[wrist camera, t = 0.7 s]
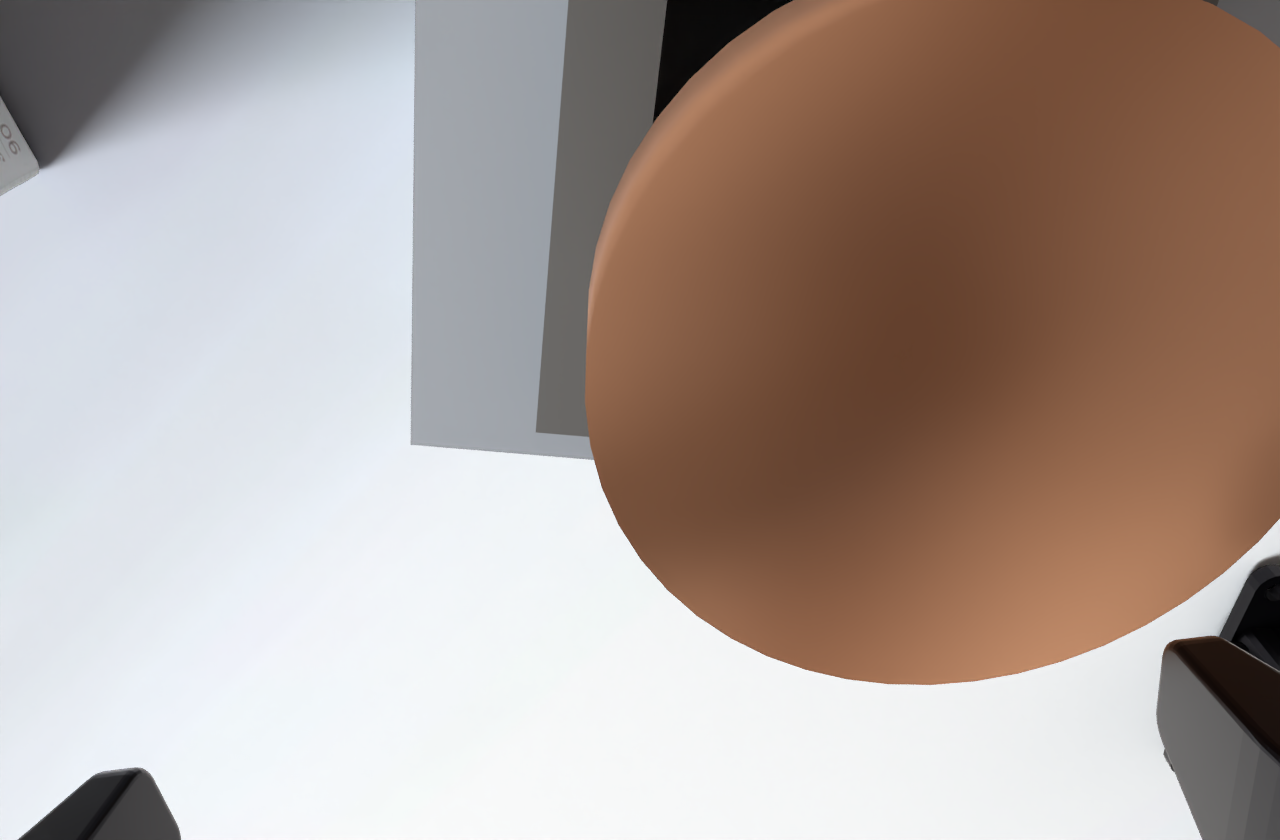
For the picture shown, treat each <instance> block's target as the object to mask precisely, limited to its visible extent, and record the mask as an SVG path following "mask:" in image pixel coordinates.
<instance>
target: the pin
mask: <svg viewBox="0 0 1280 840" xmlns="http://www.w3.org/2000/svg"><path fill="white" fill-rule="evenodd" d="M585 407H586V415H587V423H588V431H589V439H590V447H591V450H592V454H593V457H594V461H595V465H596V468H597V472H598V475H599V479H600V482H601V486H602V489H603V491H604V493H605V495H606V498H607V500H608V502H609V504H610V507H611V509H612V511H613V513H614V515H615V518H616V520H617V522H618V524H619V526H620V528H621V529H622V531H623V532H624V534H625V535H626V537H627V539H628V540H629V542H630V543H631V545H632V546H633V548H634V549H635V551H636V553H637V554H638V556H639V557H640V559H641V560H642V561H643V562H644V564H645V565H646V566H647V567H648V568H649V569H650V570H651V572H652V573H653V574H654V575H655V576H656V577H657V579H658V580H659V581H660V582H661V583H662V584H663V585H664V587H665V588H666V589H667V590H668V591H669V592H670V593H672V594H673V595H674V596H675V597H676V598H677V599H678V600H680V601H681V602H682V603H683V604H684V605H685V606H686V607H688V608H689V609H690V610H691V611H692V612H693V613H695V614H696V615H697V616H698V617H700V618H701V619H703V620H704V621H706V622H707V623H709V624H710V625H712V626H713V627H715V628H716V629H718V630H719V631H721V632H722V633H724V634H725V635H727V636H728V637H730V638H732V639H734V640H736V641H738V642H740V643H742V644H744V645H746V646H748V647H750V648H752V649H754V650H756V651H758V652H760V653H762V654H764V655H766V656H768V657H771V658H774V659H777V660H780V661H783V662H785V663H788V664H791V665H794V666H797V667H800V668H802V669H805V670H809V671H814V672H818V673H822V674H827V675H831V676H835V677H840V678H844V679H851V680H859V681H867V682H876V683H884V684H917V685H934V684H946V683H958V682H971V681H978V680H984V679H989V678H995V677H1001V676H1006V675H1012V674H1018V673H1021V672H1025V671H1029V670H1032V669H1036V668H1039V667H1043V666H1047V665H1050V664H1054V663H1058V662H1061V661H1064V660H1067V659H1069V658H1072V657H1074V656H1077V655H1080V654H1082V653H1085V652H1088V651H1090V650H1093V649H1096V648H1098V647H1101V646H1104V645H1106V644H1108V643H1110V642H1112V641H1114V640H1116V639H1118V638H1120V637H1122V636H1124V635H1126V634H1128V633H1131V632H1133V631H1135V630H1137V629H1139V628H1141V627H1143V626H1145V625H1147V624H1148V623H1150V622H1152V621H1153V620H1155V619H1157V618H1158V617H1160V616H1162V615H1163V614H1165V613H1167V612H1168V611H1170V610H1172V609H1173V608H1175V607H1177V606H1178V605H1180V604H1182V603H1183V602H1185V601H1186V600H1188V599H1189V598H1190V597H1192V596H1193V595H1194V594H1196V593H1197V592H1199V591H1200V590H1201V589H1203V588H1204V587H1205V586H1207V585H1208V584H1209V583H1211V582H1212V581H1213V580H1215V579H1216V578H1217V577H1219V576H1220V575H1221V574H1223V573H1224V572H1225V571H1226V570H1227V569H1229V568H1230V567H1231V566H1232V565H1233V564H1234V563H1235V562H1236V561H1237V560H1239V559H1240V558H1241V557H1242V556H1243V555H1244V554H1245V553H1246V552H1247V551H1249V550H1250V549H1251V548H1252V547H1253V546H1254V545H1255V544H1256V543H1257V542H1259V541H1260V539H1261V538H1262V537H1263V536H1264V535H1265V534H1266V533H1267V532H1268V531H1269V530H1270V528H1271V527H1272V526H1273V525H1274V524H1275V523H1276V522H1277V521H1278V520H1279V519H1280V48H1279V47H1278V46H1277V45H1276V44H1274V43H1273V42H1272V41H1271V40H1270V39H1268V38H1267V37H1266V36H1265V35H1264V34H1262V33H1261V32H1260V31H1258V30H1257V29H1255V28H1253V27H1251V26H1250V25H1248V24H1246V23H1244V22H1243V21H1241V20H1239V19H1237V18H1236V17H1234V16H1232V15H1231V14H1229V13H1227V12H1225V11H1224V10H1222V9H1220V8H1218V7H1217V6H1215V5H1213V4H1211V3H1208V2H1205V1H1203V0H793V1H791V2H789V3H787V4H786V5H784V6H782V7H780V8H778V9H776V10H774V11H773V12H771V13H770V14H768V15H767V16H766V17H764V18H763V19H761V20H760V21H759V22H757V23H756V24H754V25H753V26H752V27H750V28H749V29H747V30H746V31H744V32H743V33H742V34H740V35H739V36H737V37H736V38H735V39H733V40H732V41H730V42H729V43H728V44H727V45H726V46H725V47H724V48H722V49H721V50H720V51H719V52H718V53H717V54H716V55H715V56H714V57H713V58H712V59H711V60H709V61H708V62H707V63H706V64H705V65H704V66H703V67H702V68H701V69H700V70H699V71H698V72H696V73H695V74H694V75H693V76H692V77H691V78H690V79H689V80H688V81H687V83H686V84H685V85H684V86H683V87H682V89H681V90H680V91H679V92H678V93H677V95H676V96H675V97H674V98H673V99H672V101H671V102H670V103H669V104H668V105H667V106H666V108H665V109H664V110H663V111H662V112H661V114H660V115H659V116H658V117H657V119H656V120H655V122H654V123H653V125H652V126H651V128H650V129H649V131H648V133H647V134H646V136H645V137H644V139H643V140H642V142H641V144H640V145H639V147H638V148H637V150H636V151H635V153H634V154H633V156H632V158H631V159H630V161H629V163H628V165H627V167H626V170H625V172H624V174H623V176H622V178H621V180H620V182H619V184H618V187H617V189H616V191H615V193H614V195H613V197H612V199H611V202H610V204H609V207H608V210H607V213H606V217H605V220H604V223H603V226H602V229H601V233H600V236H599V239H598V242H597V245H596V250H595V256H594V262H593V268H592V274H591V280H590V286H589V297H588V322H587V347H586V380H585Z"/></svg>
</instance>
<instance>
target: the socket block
mask: <svg viewBox="0 0 1280 840" xmlns="http://www.w3.org/2000/svg"><path fill="white" fill-rule="evenodd" d="M1203 1H1205V2H1208V3H1211V4H1213V5H1215V6H1217V7H1218V8H1220V9H1222V10H1224V11H1225V12H1227V13H1229V14H1231V15H1232V16H1234V17H1236V18H1237V19H1239V20H1241V21H1243V22H1244V23H1246V24H1248V25H1250V26H1251V27H1253V28H1255V29H1257V30H1258V31H1260V32H1261V33H1262V34H1264V35H1265V36H1266V37H1267V38H1268V39H1270V40H1271V41H1272V42H1273V43H1274V44H1276V45H1277V46H1278V47H1279V48H1280V0H1203ZM666 7H667V0H415V88H414V183H413V279H412V374H411V445H422V446H434V447H446V448H458V449H470V450H482V451H494V452H506V453H518V454H530V455H543V456H555V457H567V458H579V459H591V460H594V457H593V454H592V450H591V447H590V439H589V431H588V423H587V415H586V407H585V380H586V347H587V322H588V297H589V286H590V280H591V274H592V268H593V262H594V256H595V250H596V245H597V242H598V239H599V236H600V233H601V229H602V226H603V223H604V220H605V217H606V213H607V210H608V207H609V204H610V202H611V199H612V197H613V195H614V193H615V191H616V189H617V187H618V184H619V182H620V180H621V178H622V176H623V174H624V172H625V170H626V167H627V165H628V163H629V161H630V159H631V158H632V156H633V154H634V153H635V151H636V150H637V148H638V147H639V145H640V144H641V142H642V140H643V139H644V137H645V136H646V134H647V133H648V131H649V129H650V128H651V126H652V125H653V117H654V108H655V100H656V91H657V83H658V75H659V66H660V58H661V49H662V41H663V32H664V24H665V15H666Z"/></svg>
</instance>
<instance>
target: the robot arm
mask: <svg viewBox="0 0 1280 840" xmlns="http://www.w3.org/2000/svg"><path fill="white" fill-rule="evenodd" d="M1273 585H1275V586H1274V587H1273V588H1271V589H1269V590H1267V589H1268V588H1269V587H1271V586H1273ZM1156 715H1157V724H1158V729H1159V733H1160V737H1161V739H1162V742H1163V745H1164V747H1165V750H1164V757H1165V759H1166V761H1167V762H1168V764H1169V766H1170V767H1171V769H1172V771H1174V772H1175V774H1176V776H1177V779H1178V781H1179V784H1180V786H1181V789H1182V791H1183V794H1184V796H1185V798H1186V801H1187V803H1188V806H1189V808H1190V811H1191V813H1192V815H1193V818H1194V820H1195V823H1196V825H1197V828H1198V830H1199V833H1200V835H1201V837H1202V840H1280V565H1270V566H1265V567H1262V568H1259V569H1258V570H1256V571H1255V572H1253V573H1252V574H1251V575H1250V576H1249V578H1248V579H1247V581H1246V583H1245V585H1244V587H1243V589H1242V591H1241V593H1240V595H1239V597H1238V599H1237V601H1236V603H1235V605H1234V607H1233V609H1232V611H1231V613H1230V616H1229V618H1228V620H1227V622H1226V624H1225V626H1224V628H1223V630H1222V632H1221V634H1220V636H1219V637H1217V636H1204V637H1196V638H1188V639H1180V640H1174V641H1172V642H1170V643H1168V644H1167V645H1166V647H1165V649H1164V652H1163V656H1162V665H1161V674H1160V683H1159V692H1158V701H1157V712H1156ZM18 840H181V836H180V831H179V828H178V825H177V823H176V821H175V819H174V817H173V815H172V814H171V812H170V810H169V808H168V806H167V804H166V802H165V800H164V798H163V796H162V794H161V792H160V790H159V789H158V787H157V785H156V783H155V781H154V779H153V777H152V776H151V774H150V773H149V772H147V771H146V770H144V769H143V768H127V769H119V770H111V771H104V772H101V773H98V774H96V775H94V776H92V777H91V778H90V779H88V780H87V781H86V782H85V783H84V784H82V785H81V786H80V787H79V788H78V789H77V790H75V791H74V792H73V793H72V794H71V795H70V796H68V797H67V798H66V799H65V800H64V801H63V802H61V803H60V804H59V805H58V806H57V807H56V808H54V809H53V810H52V811H51V812H50V813H49V814H47V815H46V816H45V817H44V818H43V819H42V820H40V821H39V822H38V823H37V824H36V825H35V826H33V827H32V828H31V829H30V830H29V831H28V832H26V833H25V834H24V835H23V836H22V837H21V838H19V839H18Z"/></svg>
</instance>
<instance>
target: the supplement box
mask: <svg viewBox="0 0 1280 840" xmlns="http://www.w3.org/2000/svg"><path fill="white" fill-rule="evenodd" d="M37 174H39V165H38V162H37V160H36V158H35V157H34V155H33V153H32V151H31V150H30V148H29V146H28V144H27V143H26V141H25V139H24V137H23V136H22V134H21V132H20V130H19V129H18V127H17V125H16V123H15V122H14V120H13V118H12V116H11V115H10V113H9V111H8V109H7V108H6V106H5V104H4V102H3V100H2V99H1V97H0V196H1V195H3V194H4V193H6V192H8V191H9V190H11V189H13V188H15V187H17V186H18V185H20V184H22V183H24V182H26V181H28V180H29V179H31V178H33V177H34V176H36V175H37Z"/></svg>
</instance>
